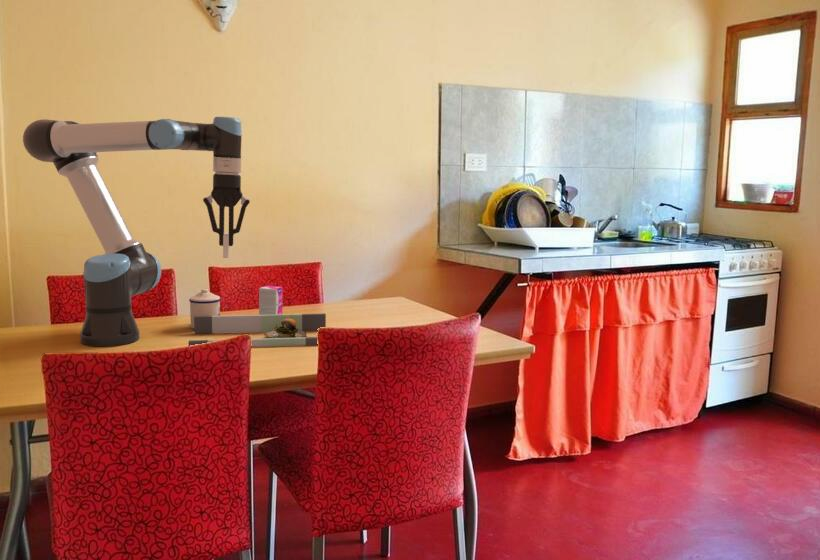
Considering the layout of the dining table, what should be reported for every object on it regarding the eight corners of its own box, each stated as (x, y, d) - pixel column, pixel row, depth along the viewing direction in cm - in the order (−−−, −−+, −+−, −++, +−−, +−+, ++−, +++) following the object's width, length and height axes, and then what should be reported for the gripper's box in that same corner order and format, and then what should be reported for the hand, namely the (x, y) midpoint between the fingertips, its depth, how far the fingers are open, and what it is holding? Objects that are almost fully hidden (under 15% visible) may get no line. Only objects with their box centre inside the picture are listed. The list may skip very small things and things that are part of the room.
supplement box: (276, 325, 221) (276, 289, 220) (258, 324, 223) (257, 288, 221) (283, 321, 227) (283, 286, 225) (265, 320, 228) (265, 285, 226)
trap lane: (188, 348, 192) (188, 330, 191) (194, 332, 210) (194, 316, 209) (331, 344, 200) (331, 327, 199) (325, 329, 218) (325, 313, 217)
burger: (257, 338, 207) (257, 312, 206) (294, 332, 214) (294, 308, 213) (277, 346, 197) (277, 320, 196) (314, 341, 204) (314, 315, 203)
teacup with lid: (225, 328, 216) (224, 290, 214) (195, 331, 211) (194, 292, 210) (212, 320, 226) (211, 284, 224) (183, 323, 221) (182, 286, 220)
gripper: (201, 172, 196) (201, 258, 200) (250, 175, 198) (249, 259, 202) (204, 172, 203) (203, 254, 207) (251, 174, 206) (249, 256, 209)
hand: (226, 257), depth 205 cm, fingers closed
